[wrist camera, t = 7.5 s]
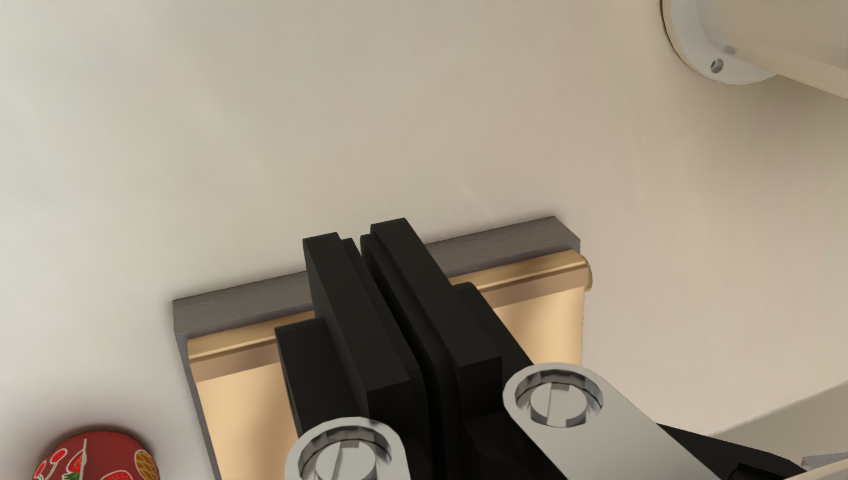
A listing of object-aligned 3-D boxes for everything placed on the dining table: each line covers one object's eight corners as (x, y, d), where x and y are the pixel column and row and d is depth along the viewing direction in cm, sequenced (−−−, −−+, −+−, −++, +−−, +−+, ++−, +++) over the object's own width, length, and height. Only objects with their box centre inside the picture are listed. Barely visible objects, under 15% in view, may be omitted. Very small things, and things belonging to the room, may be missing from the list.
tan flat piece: (572, 248, 44) (603, 277, 41) (567, 452, 52) (593, 489, 49) (186, 339, 39) (190, 380, 36) (244, 551, 46) (251, 600, 43)
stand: (571, 212, 47) (598, 235, 44) (565, 418, 55) (587, 448, 52) (172, 300, 41) (174, 334, 38) (232, 517, 49) (237, 557, 46)
